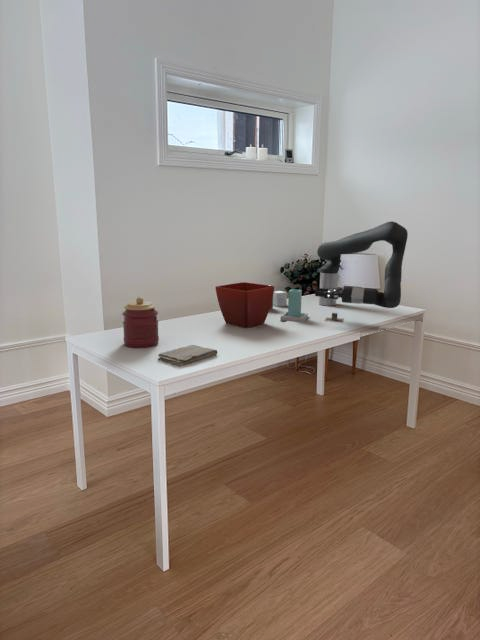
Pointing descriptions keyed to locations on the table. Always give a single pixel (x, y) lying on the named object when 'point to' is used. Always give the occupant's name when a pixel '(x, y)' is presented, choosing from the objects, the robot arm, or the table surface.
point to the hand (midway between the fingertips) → (316, 292)
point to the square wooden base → (334, 318)
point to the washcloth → (186, 355)
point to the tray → (286, 317)
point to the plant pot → (244, 303)
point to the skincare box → (279, 298)
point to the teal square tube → (294, 303)
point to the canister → (140, 324)
